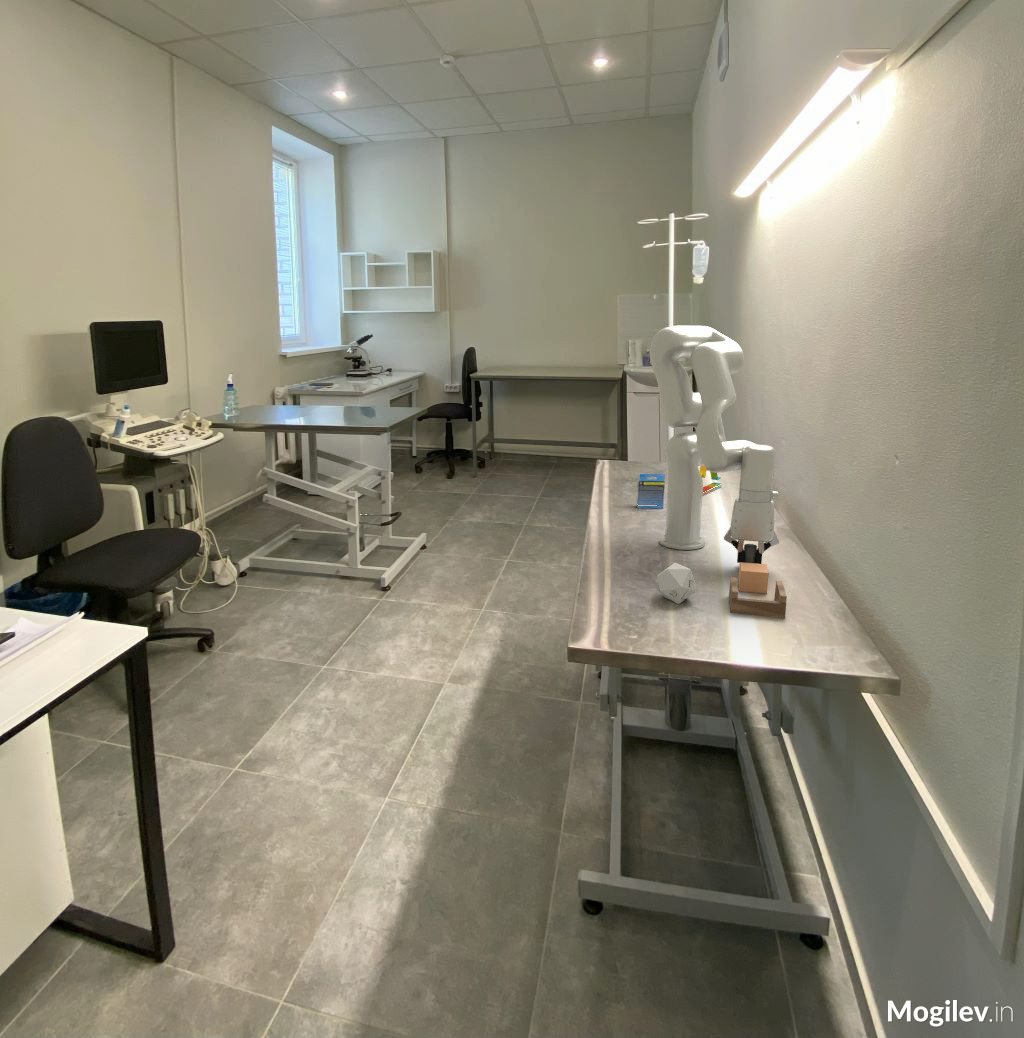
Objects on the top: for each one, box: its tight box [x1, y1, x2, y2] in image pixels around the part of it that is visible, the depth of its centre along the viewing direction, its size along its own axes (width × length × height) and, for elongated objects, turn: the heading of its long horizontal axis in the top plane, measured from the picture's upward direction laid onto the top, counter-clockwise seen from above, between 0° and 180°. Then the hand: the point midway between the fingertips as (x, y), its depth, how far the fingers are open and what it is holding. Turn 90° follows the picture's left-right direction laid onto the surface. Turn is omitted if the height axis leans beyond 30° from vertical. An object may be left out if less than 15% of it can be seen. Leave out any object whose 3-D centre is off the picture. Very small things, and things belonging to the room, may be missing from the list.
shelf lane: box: [728, 576, 788, 618], centre depth 142 cm, size 10×11×4 cm
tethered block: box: [737, 543, 770, 594], centre depth 158 cm, size 18×6×6 cm, turn 164°
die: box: [656, 562, 698, 605], centre depth 146 cm, size 8×9×10 cm
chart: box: [699, 465, 722, 497], centre depth 243 cm, size 30×3×15 cm, turn 141°
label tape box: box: [636, 473, 666, 509], centre depth 225 cm, size 9×4×12 cm, turn 84°
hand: (748, 565), depth 166 cm, fingers closed on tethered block, 3 cm apart
